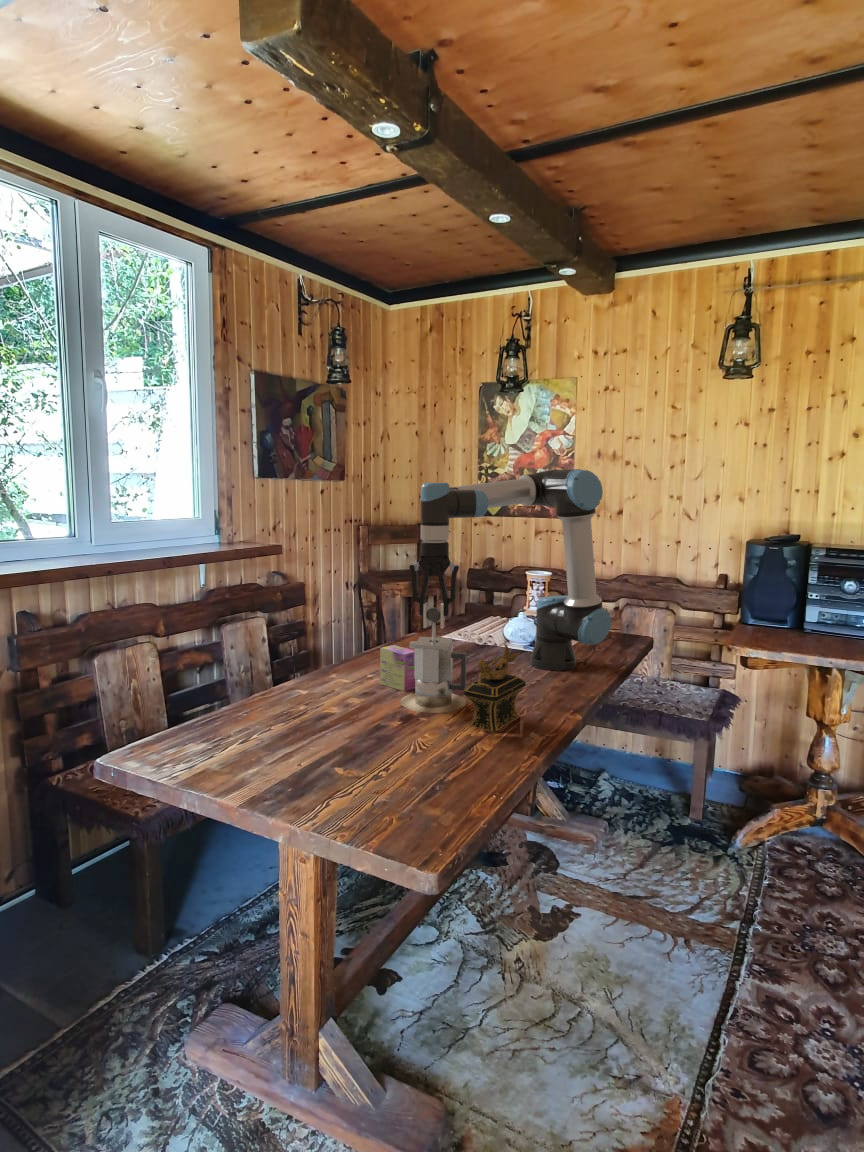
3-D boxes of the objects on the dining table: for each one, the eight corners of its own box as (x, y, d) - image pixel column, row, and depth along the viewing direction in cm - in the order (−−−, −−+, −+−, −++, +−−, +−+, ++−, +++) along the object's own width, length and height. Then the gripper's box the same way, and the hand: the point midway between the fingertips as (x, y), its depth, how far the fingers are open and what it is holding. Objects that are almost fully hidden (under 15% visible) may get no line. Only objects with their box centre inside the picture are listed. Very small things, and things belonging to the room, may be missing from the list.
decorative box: (495, 738, 168) (497, 658, 165) (461, 729, 174) (462, 652, 171) (532, 715, 185) (534, 642, 182) (500, 707, 190) (502, 637, 187)
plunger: (441, 667, 193) (442, 606, 190) (439, 671, 189) (440, 609, 186) (427, 666, 193) (427, 605, 191) (425, 670, 189) (425, 608, 187)
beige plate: (468, 695, 200) (468, 693, 200) (462, 717, 182) (462, 714, 182) (406, 692, 202) (406, 689, 202) (394, 713, 185) (395, 710, 185)
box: (418, 689, 205) (418, 650, 203) (404, 694, 201) (404, 654, 199) (393, 682, 212) (393, 644, 210) (379, 686, 208) (379, 647, 206)
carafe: (466, 697, 196) (467, 638, 193) (463, 709, 186) (464, 647, 184) (412, 694, 198) (413, 636, 195) (406, 706, 188) (407, 644, 186)
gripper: (467, 540, 188) (466, 625, 192) (405, 539, 190) (405, 623, 194) (465, 543, 181) (463, 631, 184) (400, 541, 183) (400, 629, 187)
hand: (433, 627), depth 189 cm, fingers closed on plunger, 4 cm apart
